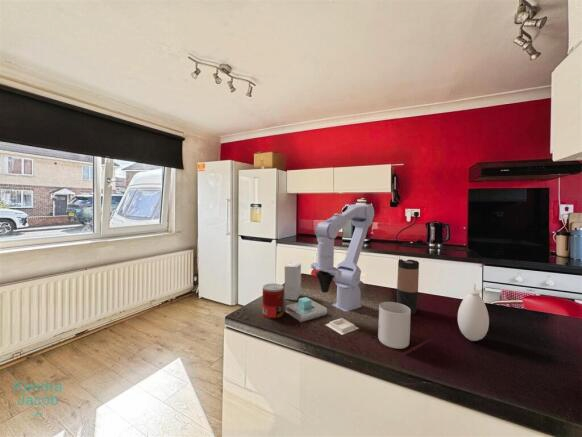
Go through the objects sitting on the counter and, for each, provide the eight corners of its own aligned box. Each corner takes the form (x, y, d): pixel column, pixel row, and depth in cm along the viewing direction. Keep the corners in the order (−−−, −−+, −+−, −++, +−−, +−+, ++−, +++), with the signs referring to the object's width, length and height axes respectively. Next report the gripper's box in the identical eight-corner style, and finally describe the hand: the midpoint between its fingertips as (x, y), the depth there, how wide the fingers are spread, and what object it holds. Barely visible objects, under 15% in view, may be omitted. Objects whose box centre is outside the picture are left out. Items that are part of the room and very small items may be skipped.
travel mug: (412, 316, 96) (414, 264, 95) (392, 309, 102) (394, 260, 101) (420, 310, 101) (422, 261, 100) (401, 304, 107) (403, 258, 106)
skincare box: (297, 300, 110) (297, 267, 109) (283, 299, 111) (284, 266, 110) (301, 294, 118) (301, 262, 117) (288, 293, 119) (289, 261, 118)
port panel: (310, 306, 104) (310, 299, 103) (326, 315, 95) (326, 307, 95) (285, 313, 97) (285, 305, 97) (300, 323, 89) (300, 315, 88)
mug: (411, 353, 72) (413, 315, 71) (378, 348, 74) (379, 311, 73) (405, 333, 83) (406, 300, 82) (376, 329, 86) (377, 297, 85)
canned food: (280, 320, 90) (281, 290, 90) (259, 318, 92) (259, 288, 91) (285, 312, 98) (285, 284, 97) (265, 310, 100) (266, 282, 99)
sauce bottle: (451, 332, 84) (454, 279, 83) (475, 333, 84) (478, 280, 83) (467, 345, 76) (470, 287, 75) (493, 346, 76) (497, 287, 75)
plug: (305, 312, 98) (305, 297, 98) (311, 315, 95) (311, 299, 95) (298, 314, 96) (298, 298, 96) (303, 317, 93) (304, 301, 93)
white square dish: (341, 320, 91) (342, 316, 91) (358, 330, 85) (359, 325, 85) (325, 326, 87) (325, 321, 87) (341, 336, 80) (341, 331, 80)
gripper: (305, 252, 96) (304, 287, 97) (331, 260, 84) (330, 300, 84) (319, 251, 100) (318, 284, 100) (346, 257, 88) (345, 296, 88)
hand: (324, 291), depth 93 cm, fingers closed
